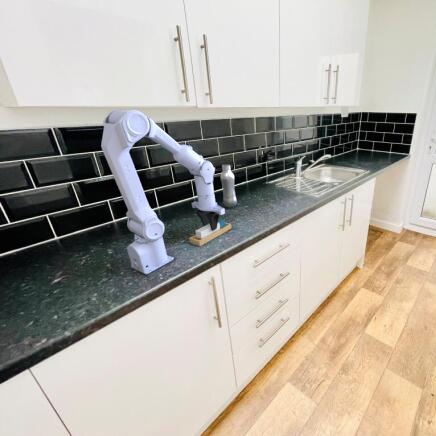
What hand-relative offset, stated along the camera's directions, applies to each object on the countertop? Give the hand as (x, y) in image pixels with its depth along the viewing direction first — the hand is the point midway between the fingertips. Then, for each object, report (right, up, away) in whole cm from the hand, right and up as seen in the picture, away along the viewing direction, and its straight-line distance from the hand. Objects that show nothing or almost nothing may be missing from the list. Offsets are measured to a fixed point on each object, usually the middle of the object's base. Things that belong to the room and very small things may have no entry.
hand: (211, 228), depth 96 cm
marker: (0, -1, +1) cm, 1 cm away
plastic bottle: (+1, +9, +28) cm, 30 cm away
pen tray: (0, -3, +1) cm, 3 cm away
